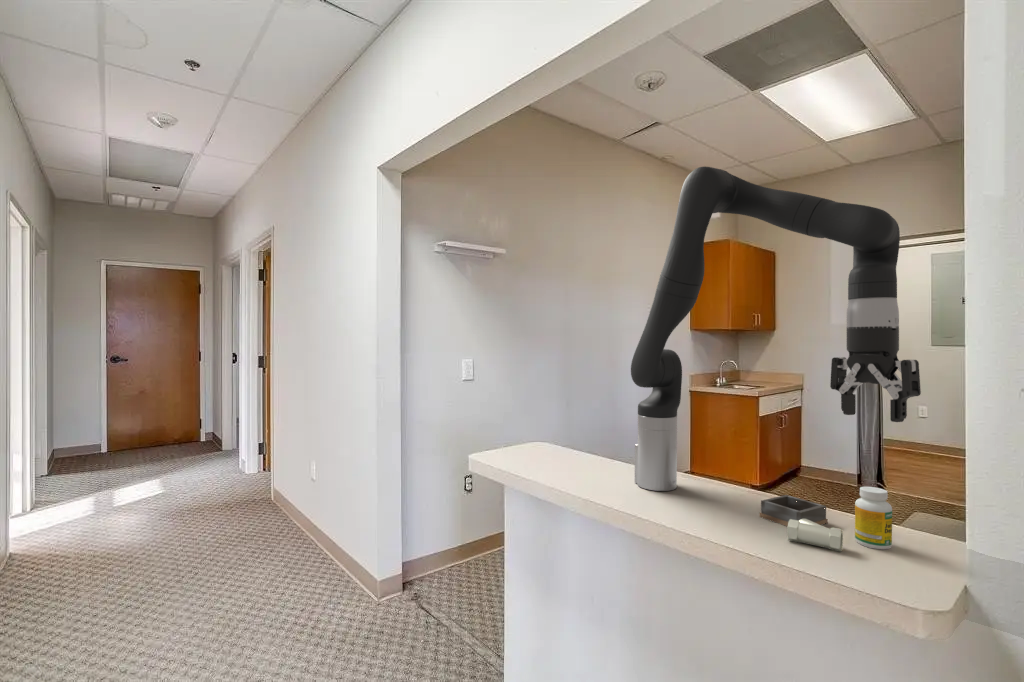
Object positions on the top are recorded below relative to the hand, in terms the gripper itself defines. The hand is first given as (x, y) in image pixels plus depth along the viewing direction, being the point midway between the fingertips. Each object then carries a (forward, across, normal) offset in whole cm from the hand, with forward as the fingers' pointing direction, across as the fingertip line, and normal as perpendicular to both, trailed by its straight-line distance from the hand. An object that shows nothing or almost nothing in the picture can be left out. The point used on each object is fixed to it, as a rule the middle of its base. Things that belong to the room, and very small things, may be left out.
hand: (872, 418), depth 90 cm
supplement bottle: (+22, 0, +1) cm, 22 cm away
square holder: (+22, -14, -3) cm, 26 cm away
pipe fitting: (+23, -4, -8) cm, 24 cm away
